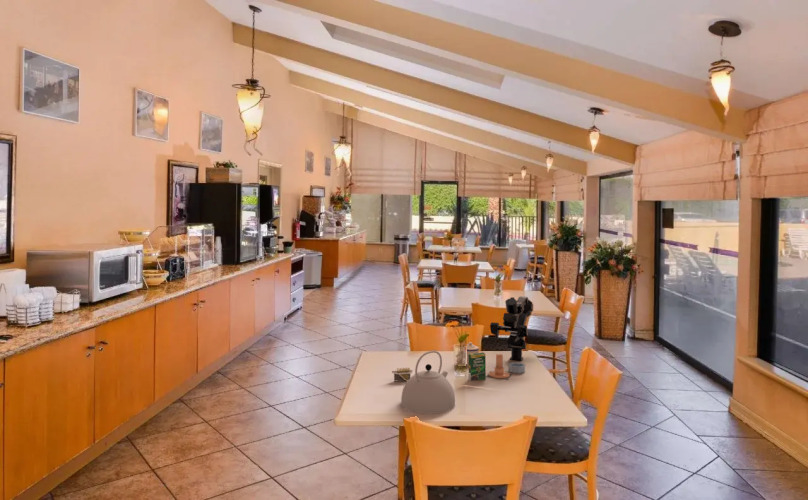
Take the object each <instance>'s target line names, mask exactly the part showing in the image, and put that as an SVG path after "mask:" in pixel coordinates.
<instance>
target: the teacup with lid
mask: <svg viewBox="0 0 808 500" xmlns="http://www.w3.org/2000/svg"><path fill="white" fill-rule="evenodd" d="M466 345H467V365H466V366H469V354H474V353H480V352H479V351H480V348H479V346H478V345H477V346H476V345H475V344H473V342H471V341H470V342H467V344H466Z"/></svg>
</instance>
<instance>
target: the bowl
mask: <svg viewBox="0 0 808 500" xmlns="http://www.w3.org/2000/svg"><path fill="white" fill-rule="evenodd" d="M508 372H510V373H511V374H523V373H525V372H526V364H524V363H522V362H509V363H508Z"/></svg>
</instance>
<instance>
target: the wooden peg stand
mask: <svg viewBox="0 0 808 500" xmlns="http://www.w3.org/2000/svg"><path fill="white" fill-rule="evenodd" d="M495 356H496V357H495V367H494V371H492V372H491V371H490V372H488V374H489V376H490V377H492V378H491V379H494V378H498V379H497V380H502V379H504V378H508V377H509V376H510V374H511V373H509V372H506V371H505V367H503V365H504V355H503V354H501V353H497V354H496V355H495Z"/></svg>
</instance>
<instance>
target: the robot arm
mask: <svg viewBox="0 0 808 500" xmlns="http://www.w3.org/2000/svg"><path fill="white" fill-rule="evenodd" d="M504 302H505V308H506V312H504V313H503V317H502V320H503V323H502V324H503V325H500V323H499V322H494V321H493V322H490V325H489V328H490V329H489V330H490V334H493V335H495V341H498V339H499V335H500V331H504V332H505V333H510V334H509V336H508V337H507V348H508V349H511V350H510V353H511V355H510V358H509V360H511V361H519V362H521V361H523V359H524V357H523V350H526V349H527V348H526V345H527V344H526V340H525V338H527V337H528V335H529V334H528V333H529V330H528V326H527V325H526V322H527V319H528V317H530V316H531V315H532V312H534V304H533V301H531V300H530V299H529V297H528V296H518V298H517V299H516V298H515V297H510V298H507V299H506V300H505V301H504Z"/></svg>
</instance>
